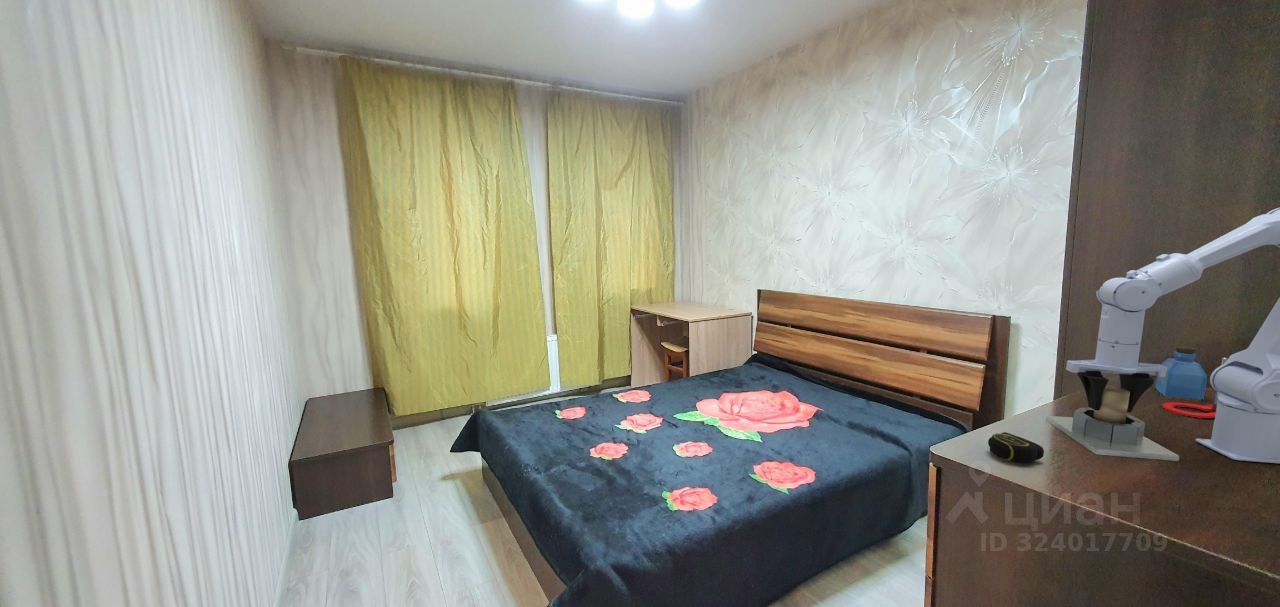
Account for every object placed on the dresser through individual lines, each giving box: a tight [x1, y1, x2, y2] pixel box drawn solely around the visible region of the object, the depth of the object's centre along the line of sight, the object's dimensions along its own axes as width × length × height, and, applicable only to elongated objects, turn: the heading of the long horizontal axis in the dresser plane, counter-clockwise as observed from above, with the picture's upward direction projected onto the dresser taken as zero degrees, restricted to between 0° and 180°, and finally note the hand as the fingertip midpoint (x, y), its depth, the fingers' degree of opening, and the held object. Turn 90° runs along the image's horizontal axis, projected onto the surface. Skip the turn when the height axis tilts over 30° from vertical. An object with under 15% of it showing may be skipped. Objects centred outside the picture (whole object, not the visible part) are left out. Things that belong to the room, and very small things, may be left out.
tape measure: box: [987, 431, 1045, 465], centre depth 85 cm, size 7×7×4 cm
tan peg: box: [1093, 385, 1130, 424], centre depth 90 cm, size 4×4×6 cm
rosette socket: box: [1045, 407, 1180, 462], centre depth 91 cm, size 12×16×4 cm
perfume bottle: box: [1154, 345, 1208, 400], centre depth 112 cm, size 6×6×12 cm
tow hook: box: [1162, 357, 1229, 419], centre depth 102 cm, size 8×13×9 cm
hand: (1109, 409), depth 91 cm, fingers closed on tan peg, 4 cm apart
